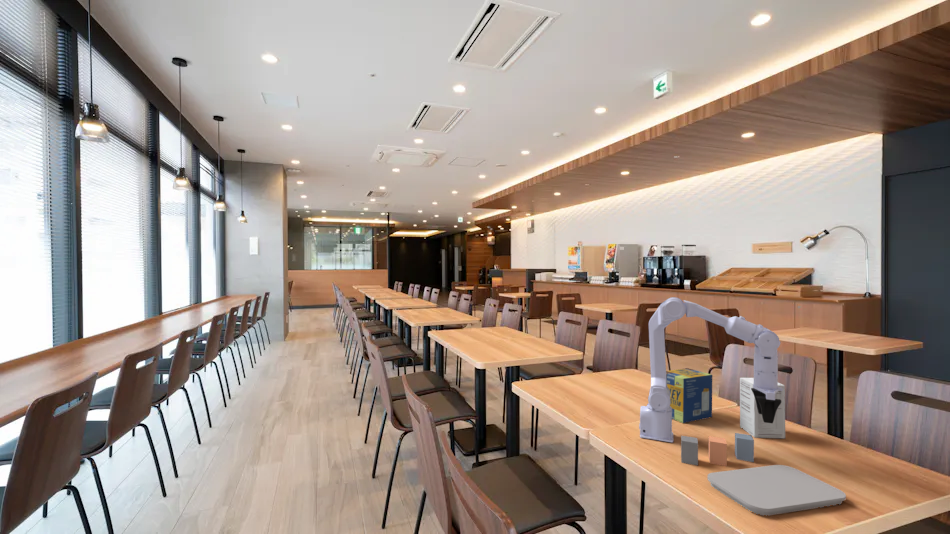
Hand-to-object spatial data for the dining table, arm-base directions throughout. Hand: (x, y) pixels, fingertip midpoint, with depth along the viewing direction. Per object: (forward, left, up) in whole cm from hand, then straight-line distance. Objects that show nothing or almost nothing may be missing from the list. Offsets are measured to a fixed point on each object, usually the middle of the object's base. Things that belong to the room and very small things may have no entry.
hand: (765, 418), depth 122 cm
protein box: (-20, +25, -10) cm, 34 cm away
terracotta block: (-13, -12, -10) cm, 20 cm away
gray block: (-20, -15, -10) cm, 27 cm away
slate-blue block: (-6, -6, -10) cm, 13 cm away
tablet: (-2, -25, -11) cm, 27 cm away
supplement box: (+2, +18, -10) cm, 21 cm away
